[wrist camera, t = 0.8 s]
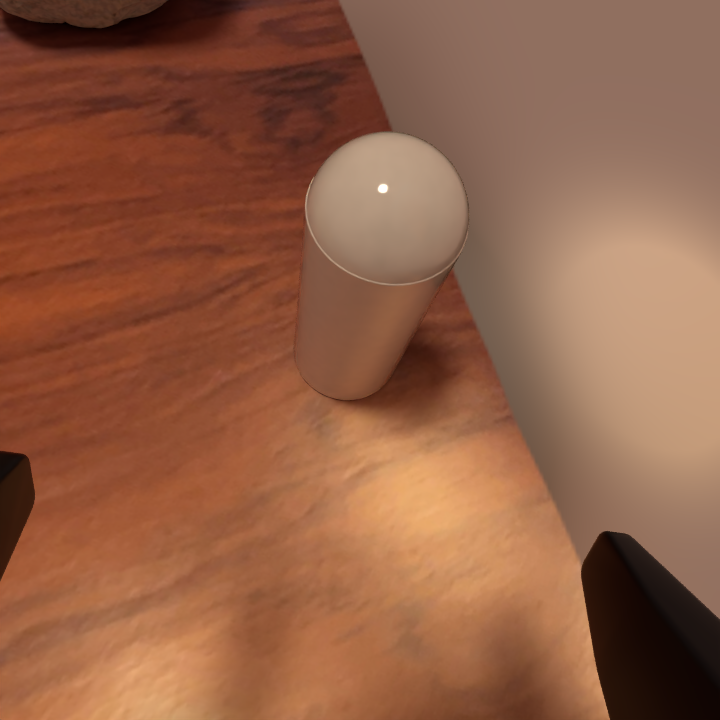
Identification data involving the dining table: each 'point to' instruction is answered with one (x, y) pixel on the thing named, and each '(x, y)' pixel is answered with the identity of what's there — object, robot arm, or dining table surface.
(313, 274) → the dome-capped cylinder
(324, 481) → the dining table surface
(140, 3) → the stone
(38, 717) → the dining table surface
